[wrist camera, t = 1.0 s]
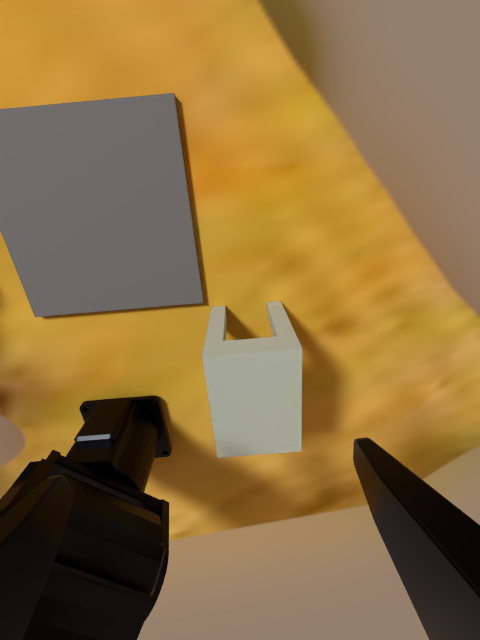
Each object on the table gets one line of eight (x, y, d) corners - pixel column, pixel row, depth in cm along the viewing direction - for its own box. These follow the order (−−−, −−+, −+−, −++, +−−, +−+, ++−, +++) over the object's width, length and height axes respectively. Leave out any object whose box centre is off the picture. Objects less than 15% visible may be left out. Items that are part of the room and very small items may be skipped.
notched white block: (282, 381, 23) (301, 451, 17) (221, 386, 23) (217, 457, 17) (280, 301, 20) (302, 348, 14) (211, 306, 21) (201, 356, 14)
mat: (203, 301, 20) (203, 302, 20) (38, 314, 20) (35, 317, 20) (175, 95, 16) (173, 92, 15) (-41, 115, 16) (-47, 113, 15)
